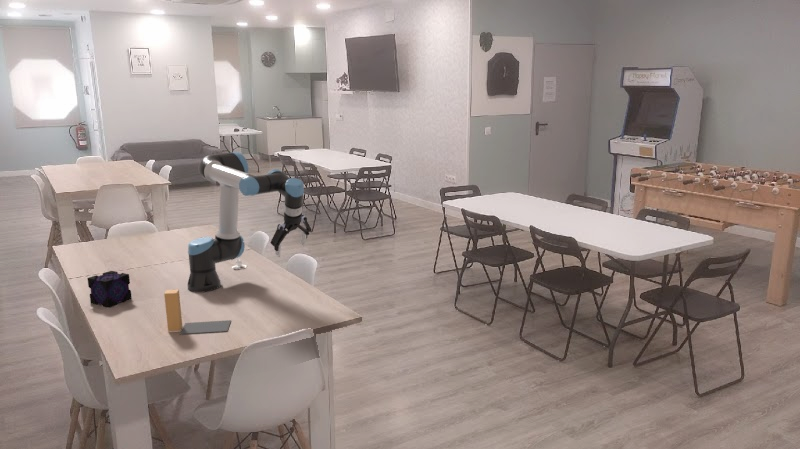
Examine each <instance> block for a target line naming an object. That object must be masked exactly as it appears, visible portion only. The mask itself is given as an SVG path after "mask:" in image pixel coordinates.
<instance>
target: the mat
mask: <svg viewBox="0 0 800 449" xmlns="http://www.w3.org/2000/svg"><path fill="white" fill-rule="evenodd" d="M231 322H232V319H231V320H230V319H229V320H228V319H227V320H214V321H213V320H212V321H197V322H185V323H184V325H182V329H181V331H180V332H179V335H195V334H196V335H197V334H212V333H213V334H214V333H227V332H228V331H229V328H230V325H231Z"/></svg>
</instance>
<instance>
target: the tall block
mask: <svg viewBox="0 0 800 449" xmlns="http://www.w3.org/2000/svg"><path fill="white" fill-rule="evenodd" d="M163 296H164V303H165V304H164V305H165V315H166V323H167V332H168V333H175V332H176V333H177V332H179V333H180V332H181V330H182V328H183V319H182V318H183V316H182V309H181V299H180V298H181V297H180V290H179V288H178V289H177V288H176V289H174V288H173V289H166V290H165V292H164V294H163Z"/></svg>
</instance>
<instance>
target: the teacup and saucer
mask: <svg viewBox="0 0 800 449" xmlns="http://www.w3.org/2000/svg"><path fill="white" fill-rule="evenodd" d="M242 266H243V267H242ZM247 267H248V266H247V264H243V259H236V260H235V265H233V266H231V269H232V270H242V269H246V268H247Z"/></svg>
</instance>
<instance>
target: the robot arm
mask: <svg viewBox="0 0 800 449" xmlns="http://www.w3.org/2000/svg"><path fill="white" fill-rule="evenodd" d="M197 168H198V169H197V170H198V173H199V175H200V177H201V178H203V179H204V180H206V181H208V182H212V183H216V182H217V183H218V184H219V206H218V207H219V212H218V215H219V216H218V230H216V232H215V234H214V235H215V237H214V238H213V237H211V236H204V237H198V238H195V239H193V240H191V241H190V242H189V243H188V246H187V248H188V249H187V253H188V261H189V262H188V263H189V264H188V265H189V277H188V280H187V290H188V291H190V292H195V293H197V292H198V293H202V292H203V293H204V292H210V291H213V290H214V291H215V290H216V289H219V288H221V286H222V285H221V279H220V276H219V274H218V272H217V268H216V264H218V263H222V262H226V261H227V262H228V261H230V260H231V261H232V260H235V259H238V258H241V256H243V253H244V251H245V247H246V246H245V245H246V244H245V241H244V237H243V236H242V235H241V233H240V232H239V231H238V216H239V194H240V193H242V195H243V196H245V197H248V196H249V197H250V196H251V197H252V196H257V195H261V194H268V193H274V192H275V193H276V192H277V193H279V194H280V195H282V196H283V197H284V208H283V211H284V212H283V221H284V223H283V224H280V223H278V224H277V228H276V230H275V233H274V234H273V237H272V238H271V240H270V244H271V245H272V246H273V248H274V250H275V251H274V252H275V253H274V254H275V255H276V256H277V257H278V258H281V253H282V252H281V251H282V250H281V249H282V244H281V243H282V242H283V241H284V239H285V238H286V236H287V235H289V233H291V232H292V231H294V230H297V229H299V230H300V231H301V234H300V244H301V245H302V246H303V247H306V245H307V239H308V236H309V235H310V233H311V232H312V227H311V226H310V224H309V222H308V218H307V217H306V216H305V214H303V203H304V194H305V187H304V186H305V184H304V181H303V180H301V179H300V178H299V179H298V178H296V177H291V178H290V177H289V176H288V175H287V174H286V173H285V172H283V171H282V170H280V169H279V168H272V170H269V171H268V172H267V174H263V175H262V174H261V175H253V174H250V173H249V163H248V160H247V159H246V157H245V156H244V154H242V153H240V152H239V151H238V152H237V151H236V152H232V151H230V152H223V153H222V152H221V153H214V154H213V153H212V154H209V155H206V156H204V157H202V159H200V161H199V164H198V167H197ZM301 223H302V224H303V225H304V227H305V228H304V227H303V226H302V225H301Z"/></svg>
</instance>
